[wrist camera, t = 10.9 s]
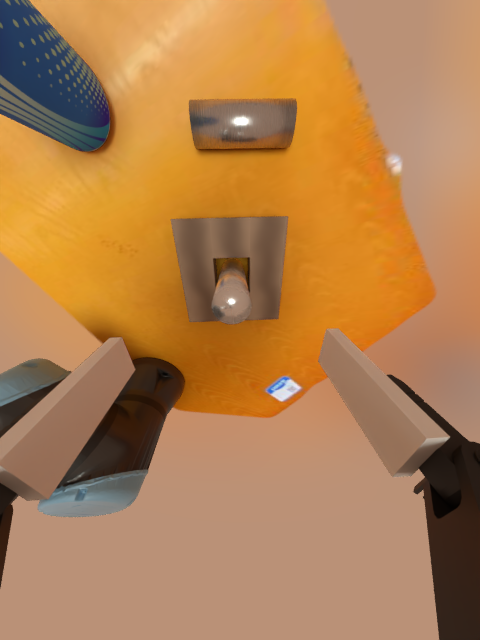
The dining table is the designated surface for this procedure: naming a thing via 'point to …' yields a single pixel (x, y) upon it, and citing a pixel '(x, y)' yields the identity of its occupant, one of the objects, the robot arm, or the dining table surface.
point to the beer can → (48, 81)
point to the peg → (231, 294)
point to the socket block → (231, 242)
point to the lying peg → (242, 123)
